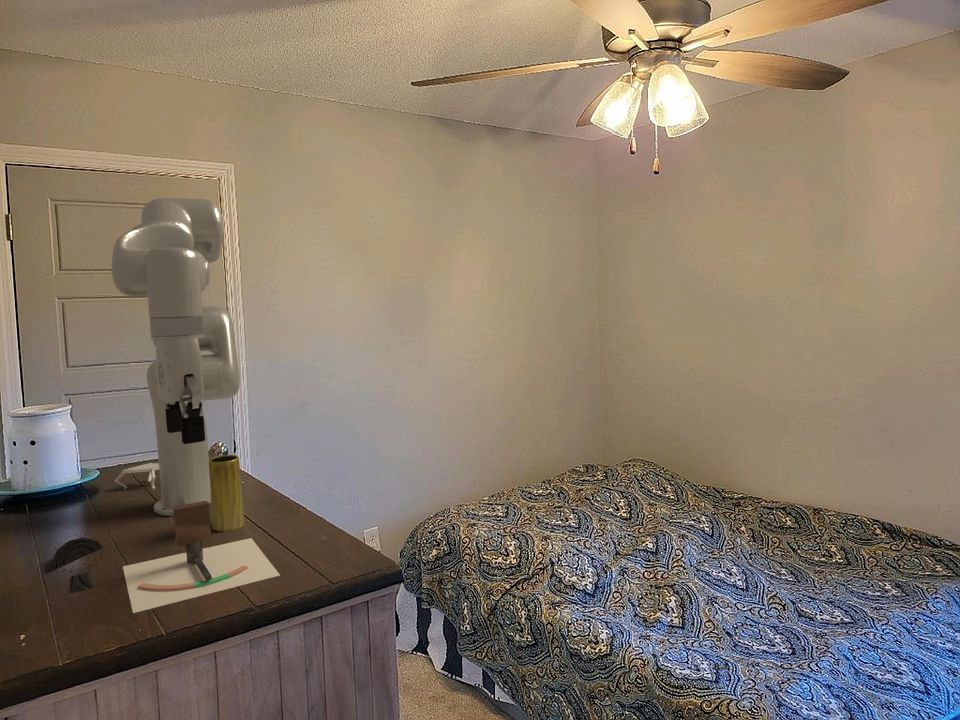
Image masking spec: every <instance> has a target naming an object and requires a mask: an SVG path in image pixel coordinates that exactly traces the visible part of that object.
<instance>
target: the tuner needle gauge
mask: <svg viewBox="0 0 960 720" xmlns="http://www.w3.org/2000/svg"><path fill="white" fill-rule="evenodd" d="M173 514H174V515H173V524H174V525H173V526H174V534H175V535H174V537H175V538H174V539H175V545H176V546H177V547H182V546H185V553H186V554H187V562H188V563H195V564H196V565H197V567H198V568H199V570H200V572H201V573H202V575H203V577H204V578H205V580H206V581H208V580H212V576H211V574H210V573H209V571H208V569H207V568H206V566H205V565H204V563H203V562H202V560H203V549H204V548H203V542H206V541H209V540H212V529H211V528H212V526H211V516H210V503H208V502H207V501H201V502H196V503H191V504H185V505H180V506H175V507H173Z"/></svg>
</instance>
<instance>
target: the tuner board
mask: <svg viewBox="0 0 960 720" xmlns="http://www.w3.org/2000/svg"><path fill="white" fill-rule="evenodd" d="M202 549H203V560H202V562H203V563H204V565H205V566H206V568H207V569H208V571H209V573H210V574H211V576H212V580H208V581H206V580H205V578H204V577H203V575H202V573H201V572H200V570H199V568H198V567H197V565H196V564H195V563H188V562H187V554H186V552H182V553H178V554H173V555H168V556H165V557H159V558H156V559H150V560H146V561H142V562H136V563H133V564H129V565H123V566H122V570H123V573H124V578H125V583H126V587H127V592H128V596H129V602H130V606H131V611H132V613H133V614H136V613H140V612H144V611H148V610H152V609H155V608H160V607H164V606H167V605H172V604H175V603H179V602H182V601H186V600H190V599H195V598H198V597H203V596H206V595H210V594H214V593H218V592H221V591H226V590H229V589H234V588H237V587H241V586H245V585H249V584H253V583H257V582H260V581H264V580H268V579H272V578H276V577H280V576H281V575H280V572H278V569H276V567H275V566H273V564H272V562H270V560H269V559H268V557H266V555H265V553H263V551H262V550H261V548H260V547H259V546H258V545H257V544H256V542H255V541H254V539H253V538H252V537H251V538H245V539H241V540H235V541H231V542H227V543H223V544H218V545H213V546H209V547H204V548H202Z"/></svg>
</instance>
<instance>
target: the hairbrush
mask: <svg viewBox="0 0 960 720" xmlns="http://www.w3.org/2000/svg"><path fill="white" fill-rule="evenodd" d="M84 535H85V536H87V534H86V533H85V534H84ZM74 536H75V537H76V536H77V537H78V538H74V539H72V537H71V536H67V537H64V540H66V543H64V544H63V542H62V541H61V542H60V544H61V545H60V546H59V548H56V547H54V549H55V550H56V552H55V551H53V553H52V554H51V556H53V557H50V563H49V564H50V567H49V573H51V572H54V571H56V572H57V573H63V574H64V573H65V571H67V569H66V568H63V567H64V566H68V565H70V564H71V563H73V562H74V563H75V562H76V561H77V560H80V559H81V560H84V557H86V556H87V561H86V562H88V561H89V558H90V557H89V555H91V554H93V556H94V559H96V554H95V552H98V551H99V550H100V552H101V558H100V560H101V559H102V558H103V550H102V549H103V548H104V547H103V545H102V544H101V543H100V542H99V541H98V540H95V539H94V538H95V537H92V538H88V537H83V536H82V535H81V533H80V537H79V535H78V534H75V535H74ZM69 538H71V539H70V540H67V539H69ZM80 562H81V561H80ZM80 562H79V564H80ZM82 564H83V565H85V563H82ZM91 565H92V563H90V565H89V564H87V570H88V571H89V572H84V573H83V569H82V568H77V569H78V570H77V569H76V572H77V573H78V574H75V575H73V576H71V578H73V579H72V586H71V589H70V591H69V594H70V595H71V594H73V593H74V594H75V593H80V592H84V591H87V590H91V589H94V587H93V584H92V583H91V581H90V579H89V576H88V575H89V574H90V573H91V572H90V568H92V566H91ZM93 565H94V566H97V563H95V564H93ZM78 566H79V567H80V565H78ZM68 567H69V566H68ZM72 567H73V568H74V567H75V565H73V566H72ZM62 568H63V570H64V571H63V572H62V571H58V569H62ZM68 571H69V572H70V573H73V572H74V571H75V570H74V569H68ZM79 571H81V572H82V573H79Z"/></svg>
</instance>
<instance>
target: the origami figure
mask: <svg viewBox="0 0 960 720" xmlns="http://www.w3.org/2000/svg"><path fill="white" fill-rule="evenodd" d="M158 470H159V462H155V463H154V462H149V463H144V464H141V465H137V466H133V467H128V468H125V469H122V470H121V473H120V474H119V475H118V476H117V477H116V478H115V479H114V482H116V483H117V484H118V485H120V486H122V487H123V490H127V488H128V486H127V485H125V484H124V483H122V482H120V481H119V480H121V478H122V477H123V476H125V474H129V473H130V474H135V473H146V472H147V473H148V472H149V475H148V478H147V482H148V483H150V484H151V485H150V486H151V489H156V486H155V483H156V475H155V474H156V473H155V471H158Z"/></svg>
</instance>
